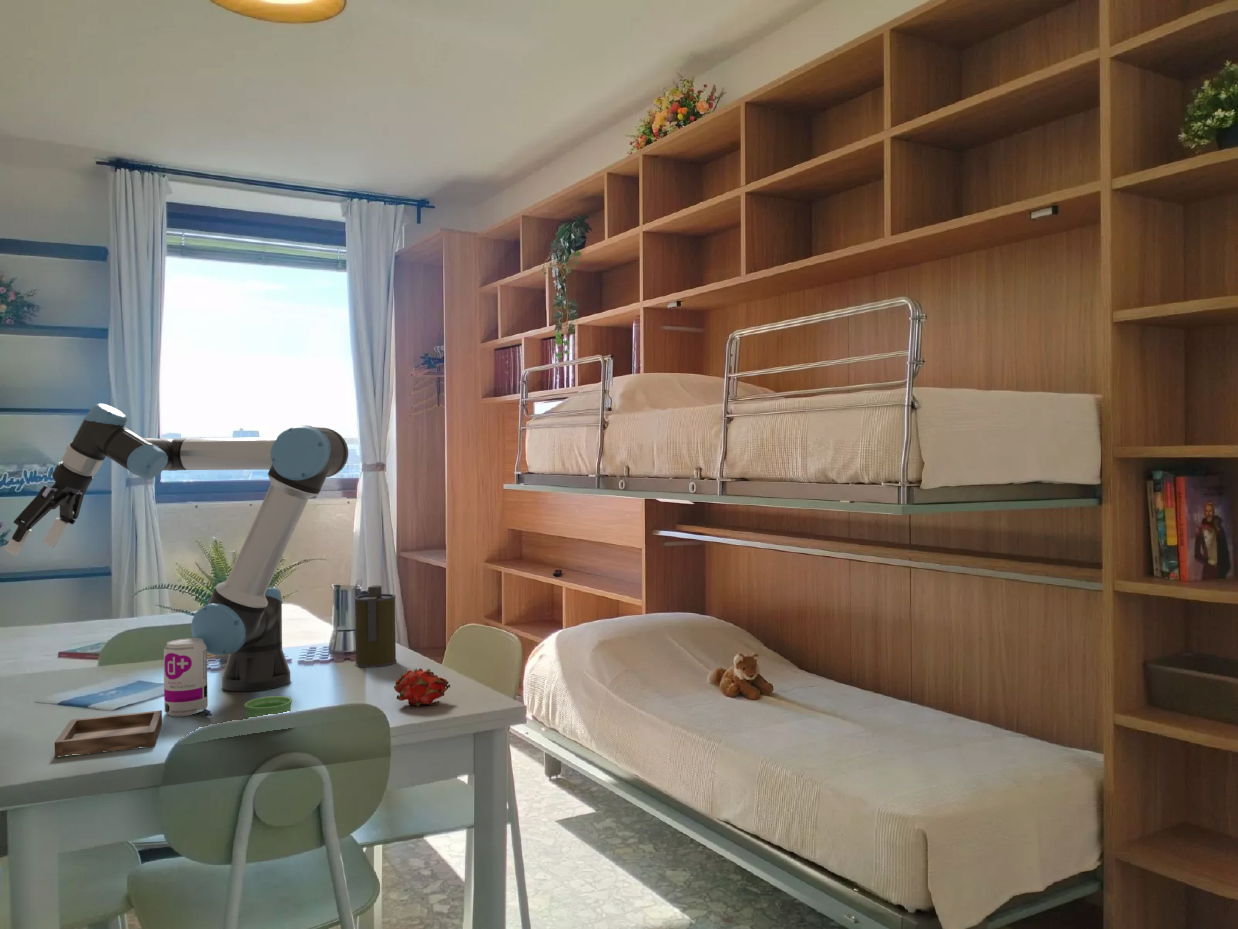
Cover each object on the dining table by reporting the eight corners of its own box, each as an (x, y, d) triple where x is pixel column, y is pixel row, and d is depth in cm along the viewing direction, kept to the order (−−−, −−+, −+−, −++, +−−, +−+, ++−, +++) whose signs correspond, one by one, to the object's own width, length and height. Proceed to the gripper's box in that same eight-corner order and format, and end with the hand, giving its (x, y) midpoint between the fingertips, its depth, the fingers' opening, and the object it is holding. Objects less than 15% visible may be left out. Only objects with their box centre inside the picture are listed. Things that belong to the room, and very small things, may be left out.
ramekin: (256, 717, 190) (255, 696, 190) (299, 717, 190) (298, 695, 190) (236, 729, 181) (236, 707, 181) (282, 729, 181) (281, 707, 181)
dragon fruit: (389, 713, 197) (445, 716, 200) (393, 697, 190) (452, 701, 194) (393, 676, 202) (448, 680, 205) (397, 659, 196) (454, 664, 199)
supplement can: (191, 718, 190) (189, 645, 190) (155, 716, 191) (154, 644, 191) (215, 707, 198) (214, 638, 198) (181, 706, 199) (180, 637, 199)
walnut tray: (162, 724, 186) (161, 710, 186) (154, 746, 171) (154, 731, 171) (70, 734, 180) (70, 719, 180) (54, 758, 165) (54, 742, 165)
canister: (359, 659, 244) (357, 584, 244) (399, 658, 245) (397, 583, 245) (351, 668, 233) (350, 590, 233) (393, 667, 234) (392, 588, 234)
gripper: (93, 457, 219) (48, 533, 219) (28, 461, 194) (-23, 547, 194) (121, 473, 219) (76, 549, 219) (59, 480, 194) (8, 565, 195)
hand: (29, 548), depth 207 cm, fingers open, 13 cm apart
